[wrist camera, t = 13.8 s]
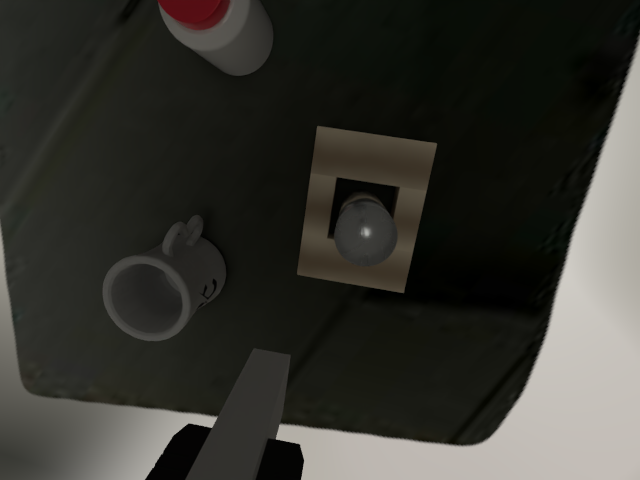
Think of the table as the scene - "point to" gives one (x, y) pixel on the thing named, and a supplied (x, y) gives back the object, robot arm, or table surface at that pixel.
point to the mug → (164, 283)
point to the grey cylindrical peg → (364, 229)
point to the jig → (370, 166)
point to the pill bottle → (222, 31)
